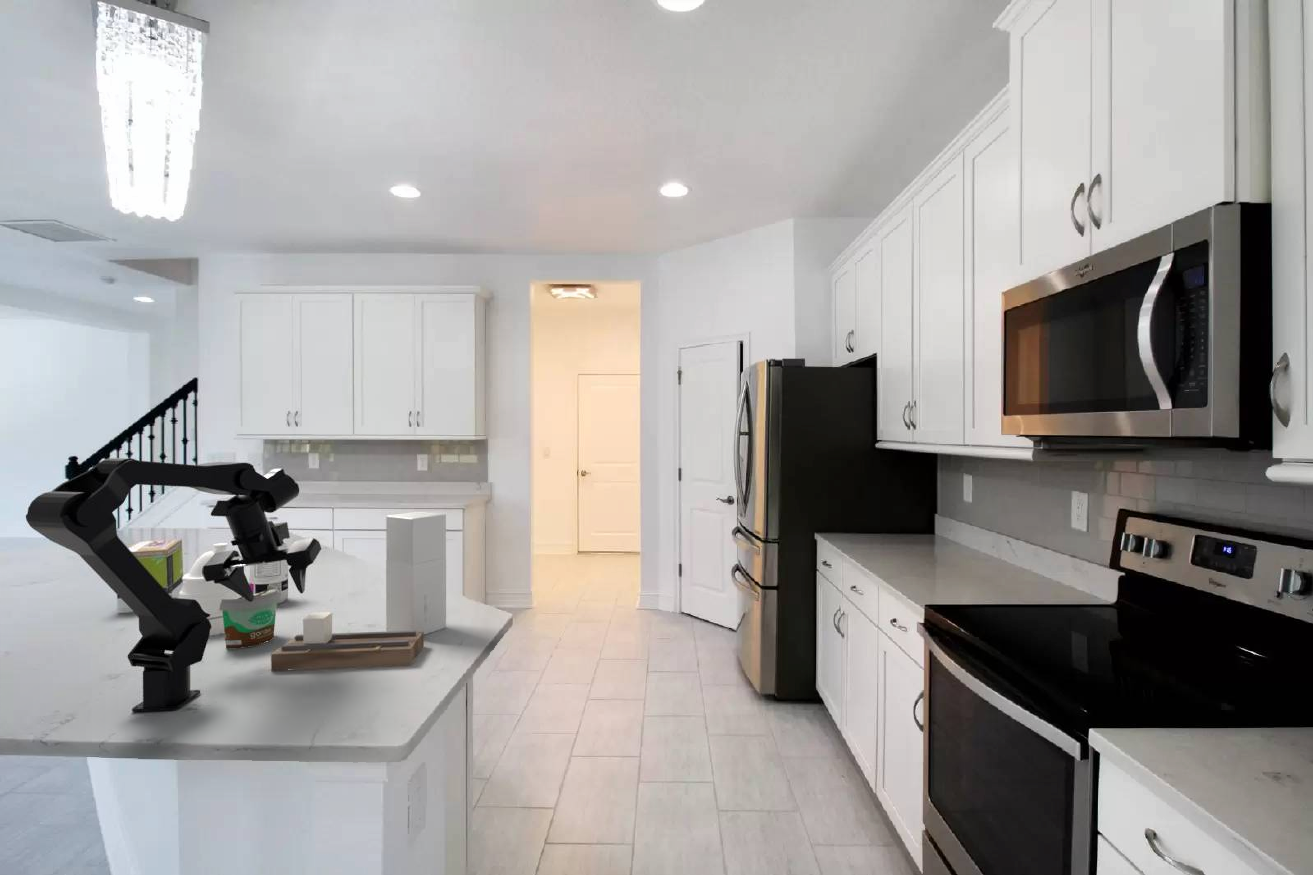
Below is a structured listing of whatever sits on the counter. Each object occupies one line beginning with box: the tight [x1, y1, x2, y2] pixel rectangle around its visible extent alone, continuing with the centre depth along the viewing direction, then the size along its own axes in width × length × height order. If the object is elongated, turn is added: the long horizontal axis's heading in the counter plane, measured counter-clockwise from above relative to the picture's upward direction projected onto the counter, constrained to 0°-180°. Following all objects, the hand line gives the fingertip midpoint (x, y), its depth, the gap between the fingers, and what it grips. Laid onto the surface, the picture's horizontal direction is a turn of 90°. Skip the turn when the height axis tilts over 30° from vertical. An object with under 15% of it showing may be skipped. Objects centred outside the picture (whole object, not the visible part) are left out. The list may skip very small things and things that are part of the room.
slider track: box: [270, 630, 425, 672], centre depth 119 cm, size 10×24×4 cm, turn 97°
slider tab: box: [302, 611, 333, 644], centre depth 118 cm, size 4×4×5 cm
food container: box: [219, 586, 281, 649], centre depth 128 cm, size 12×6×10 cm, turn 168°
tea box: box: [116, 538, 184, 614], centre depth 156 cm, size 15×10×15 cm
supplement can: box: [248, 539, 289, 605], centre depth 157 cm, size 8×8×15 cm
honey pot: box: [179, 542, 242, 637], centre depth 137 cm, size 13×13×18 cm
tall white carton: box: [385, 511, 447, 636], centre depth 136 cm, size 9×9×25 cm
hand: (277, 596), depth 120 cm, fingers open, 9 cm apart
